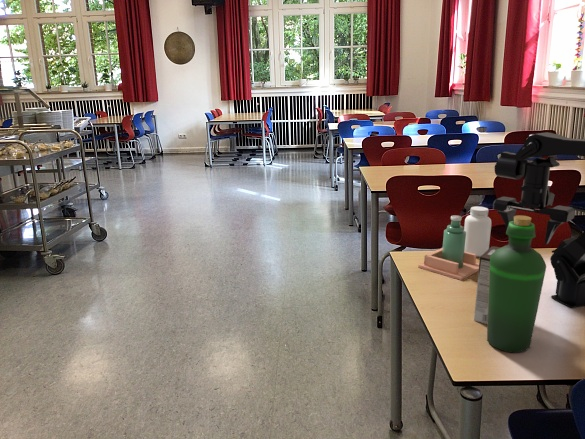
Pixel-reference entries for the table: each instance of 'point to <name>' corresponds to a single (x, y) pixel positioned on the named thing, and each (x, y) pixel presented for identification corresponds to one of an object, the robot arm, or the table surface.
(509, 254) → the bottle
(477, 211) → the pill bottle
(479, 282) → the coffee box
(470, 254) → the u rest
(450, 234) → the bottle
